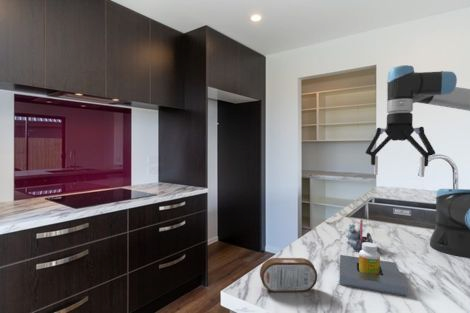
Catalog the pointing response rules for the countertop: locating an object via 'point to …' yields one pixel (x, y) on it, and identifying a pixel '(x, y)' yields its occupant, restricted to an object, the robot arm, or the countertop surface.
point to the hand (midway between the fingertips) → (398, 175)
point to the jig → (372, 277)
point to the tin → (288, 275)
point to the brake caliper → (357, 237)
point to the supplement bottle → (369, 259)
